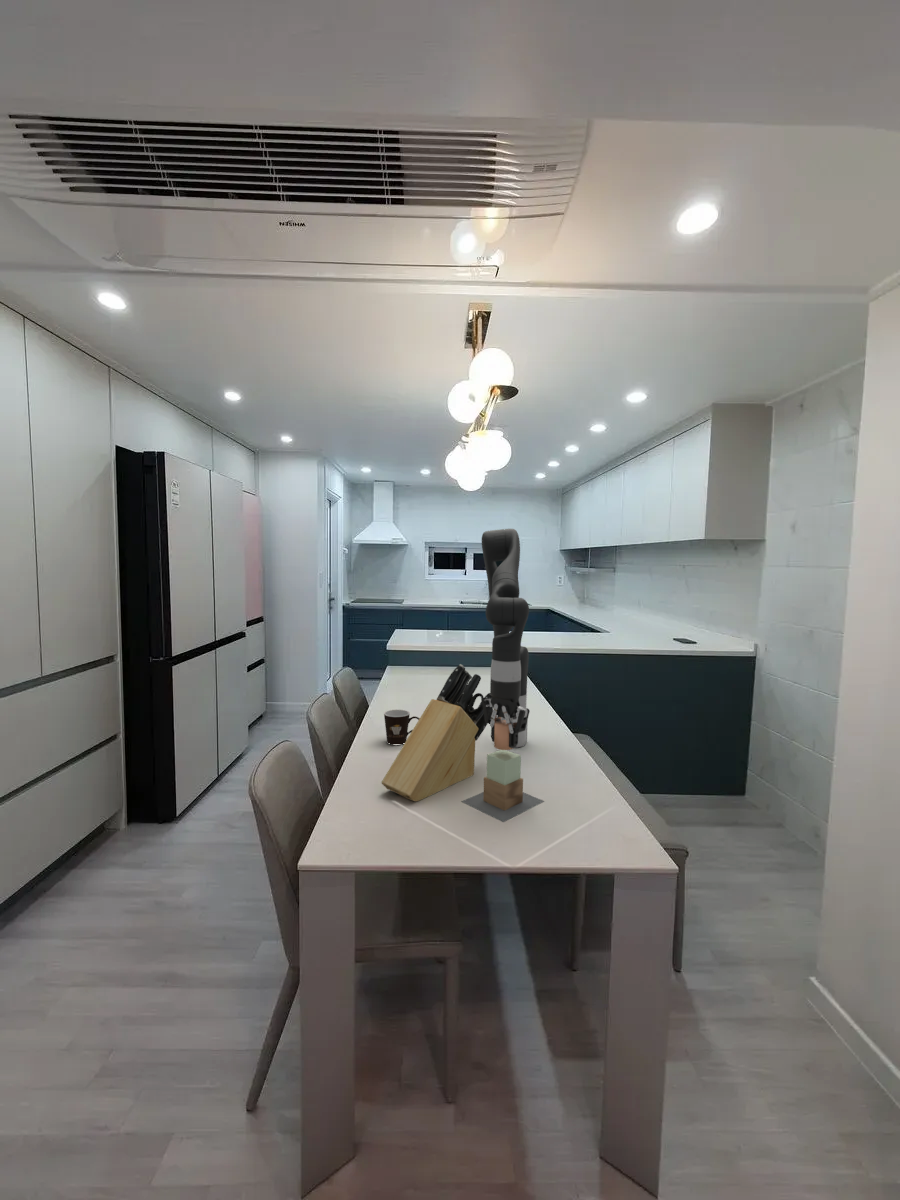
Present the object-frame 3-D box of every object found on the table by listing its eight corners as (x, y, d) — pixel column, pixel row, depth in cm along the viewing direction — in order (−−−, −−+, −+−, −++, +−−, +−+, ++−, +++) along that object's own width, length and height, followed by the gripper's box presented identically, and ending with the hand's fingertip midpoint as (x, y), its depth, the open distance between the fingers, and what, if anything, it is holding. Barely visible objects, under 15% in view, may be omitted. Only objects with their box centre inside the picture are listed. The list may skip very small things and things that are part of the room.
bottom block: (501, 792, 136) (502, 770, 136) (522, 801, 131) (523, 778, 130) (483, 800, 131) (483, 777, 131) (504, 810, 126) (505, 786, 126)
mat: (502, 785, 142) (502, 783, 142) (544, 803, 132) (544, 801, 131) (461, 803, 131) (461, 801, 131) (503, 824, 121) (503, 822, 120)
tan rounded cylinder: (502, 741, 134) (503, 718, 133) (518, 746, 130) (518, 723, 130) (489, 746, 130) (490, 722, 130) (505, 751, 127) (505, 727, 126)
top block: (502, 771, 135) (502, 749, 134) (520, 778, 131) (520, 755, 130) (486, 777, 131) (487, 754, 130) (504, 785, 126) (505, 761, 126)
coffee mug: (379, 744, 172) (379, 714, 172) (391, 736, 180) (391, 708, 180) (410, 749, 168) (410, 719, 167) (421, 741, 176) (422, 712, 175)
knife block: (495, 767, 154) (497, 664, 152) (410, 807, 128) (411, 684, 126) (466, 757, 162) (467, 659, 160) (380, 793, 135) (380, 677, 133)
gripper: (538, 680, 126) (536, 748, 127) (494, 670, 137) (492, 734, 138) (518, 684, 121) (516, 755, 122) (474, 674, 132) (473, 740, 133)
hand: (504, 743), depth 130 cm, fingers closed on tan rounded cylinder, 5 cm apart
